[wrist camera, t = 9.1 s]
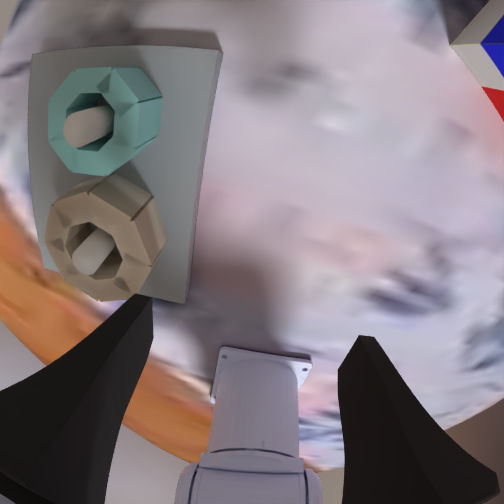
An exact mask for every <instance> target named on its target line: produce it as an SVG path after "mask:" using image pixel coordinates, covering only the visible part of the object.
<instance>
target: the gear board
mask: <svg viewBox="0 0 504 504" xmlns="http://www.w3.org/2000/svg"><path fill="white" fill-rule="evenodd" d="M222 56H223V52H221V51H219V50H211V49H201V48H190V47H175V46H149V45H125V46H99V47H85V48H74V49H64V50H56V51H49V52H42V53H36V54H32V60H31V69H30V81H29V97H28V153H29V170H30V182H31V192H32V201H33V209H34V216H35V223H36V229H37V235H38V241H39V246H40V251H41V256H42V261H43V266H44V268H46V269H50V270H53V271H56V272H59V270H58V269H57V267H56V265H55V263H54V261H53V259H52V257H51V255H50V253H49V251H48V249H47V247H46V245H45V243H44V242H45V241H46V240H44V235H45V230H46V225H47V220H48V216H49V211H50V207H51V204H53V202H54V201H56V200H57V199H58V198H60V197H61V196H63V195H64V194H65V193H67V192H68V191H69V190H71V189H72V188H74V187H75V186H77V185H78V184H79V183H82V182H85V181H88V180H91V179H94V178H97V177H100V176H97V175H89V174H81V173H73V172H72V170H71V171H70V170H69V169H68V168H67V167H66V165H65V164H64V163H63V161H62V160H61V159H60V157H59V156H58V155H57V153H56V152H55V151H54V149H53V148H52V147H51V145H50V144H49V142H50V141H49V140H48V103H49V102H51V101H50V100H49V99H50V98H51V97H52V96H53V94H54V93H55V92H56V90H57V89H58V88H59V87H60V85H61V84H62V83H63V82H64V80H65V79H66V78H67V77H68V76H69V75H70V73H71V72H72V71H73V70H75V69H81V68H100V67H139V68H141V69H142V70H143V72H144V73H145V74H146V75H147V77H148V78H149V79H150V80H151V82H152V83H153V84H154V85H155V87H156V88H157V89H158V90H159V92H160V93H161V94H162V96H161V97H160V98H163V102H162V110H161V119H160V129H159V135H157V136H158V137H157V138H155V139H154V140H153V141H152V142H151V143H150V144H148V145H147V146H146V147H145V148H144V149H143V150H141V151H140V152H139V153H138V154H137V155H136V156H135V157H134V158H132V159H131V160H129V161H128V162H126V163H125V164H124V165H122V166H121V167H119V168H118V169H116V170H115V171H113V174H115V173H117V174H118V175H120V176H122V177H123V178H125V179H127V180H128V181H130V182H132V183H133V184H135V185H137V186H138V187H140V188H142V189H143V190H145V191H147V192H148V193H150V194H152V196H151V198H155V201H156V204H157V207H158V210H159V213H160V215H161V218H162V221H163V224H164V227H165V230H166V232H167V235H168V238H167V239H168V240H167V242H166V244H165V246H164V248H163V249H162V251H161V253H160V255H159V257H158V258H157V260H156V262H155V264H154V266H153V268H152V269H151V271H150V273H149V275H148V277H147V278H146V280H145V282H144V284H143V286H142V288H141V289H140V291H139V293H138V294H142V295H146V296H150V297H155V298H159V299H163V300H167V301H172V302H176V303H181V304H185V301H186V298H187V296H188V293H189V288H190V277H191V266H192V256H193V247H194V237H195V229H196V220H197V212H198V204H199V196H200V188H201V181H202V174H203V167H204V160H205V153H206V147H207V140H208V134H209V128H210V121H211V116H212V110H213V104H214V98H215V93H216V87H217V82H218V77H219V71H220V66H221V61H222ZM114 116H115V111H114V109H113V108H112V107H111V106H110V104H109V103H108V102H107V100H106V99H105V98H104V97H103V96H102V97H101V98H100V99H99V100H98V101H97V106H96V107H93V108H89V109H86V110H82V111H79V112H75V113H72V114H71V115H69V116H68V117H67V119H66V120H65V122H64V126H63V134H64V137H65V139H66V141H67V142H68V143H69V144H70V145H71V146H73V147H82V146H84V145H86V144H88V143H90V142H92V141H95V140H97V139H99V138H101V137H103V136H108V137H113V131H114ZM89 224H90V226H91V228H92V231H93V232H92V233H91V234H90V235H89V236H88V237H87V238H86V239H85V241H84V242H83V243H82V244H81V245H80V246H79V247H78V248H77V249H76V250H75V251H74V252H73V254H72V261H73V264H74V266H75V267H76V268H77V269H78V270H79V271H80V272H81V273H83V274H86V275H92V274H94V273H95V272H96V270H97V269H98V268H99V266H100V265H101V264H102V262H103V261H104V260H105V258H106V257H107V256H108V255H109V253H110V252H111V251H113V252H114V253H120V252H119V250H118V248H117V245H116V243H115V241H114V239H113V236H112V235H110V234H109V233H107V232H105V231H104V230H102V229H101V228H99V227H97V226H96V225H94V224H93V223H91V222H89Z"/></svg>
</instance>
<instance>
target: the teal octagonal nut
mask: <svg viewBox="0 0 504 504" xmlns="http://www.w3.org/2000/svg"><path fill="white" fill-rule="evenodd" d="M102 96H103V97H104V98H105V99H106V100H107V102H108V103H109V104H110V106H111V107H112V108H113V109H114V111H115V116H114V131H113V137H108V136H103V137H101V138H99V139H97V140H95V141H92V142H90V143H88V144H86V145H84V146H82V147H73V146H71V145H70V144H69V143H68V142H67V141H66V139H65V137H64V134H63V126H64V122H65V120H66V119H67V117H68V116H69V115H71V114H72V113H75V112H79V111H82V110H86V109H89V108H93V107H96V106H97V101H98V100H99V99H100V98H101V97H102ZM161 96H162V94H161V93H160V92H159V90H158V89H157V88H156V87H155V85H154V84H153V83H152V82H151V80H150V79H149V78H148V77H147V75H146V74H145V73H144V72H143V70H142V69H141V68H139V67H100V68H81V69H75V70H73V71H72V72H71V73H70V75H69V76H68V77H67V78H66V79H65V80H64V82H63V83H62V84H61V85H60V87H59V88H58V89H57V90H56V92H55V93H54V94H53V96H52V97H51V98H50V99H49V100H50V101H51V102H49V103H48V140H49V141H50V142H49V144H50V145H51V147H52V148H53V149H54V151H55V152H56V153H57V155H58V156H59V157H60V159H61V160H62V161H63V163H64V164H65V165H66V167H67V168H68V169H69V170H70V171H71V170H72V172H73V173H81V174H89V175H97V176H106V175H107V176H108V175H109V174H111V173H112V172H113V171H115V170H116V169H118V168H119V167H121V166H122V165H124V164H125V163H126V162H128V161H129V160H131V159H132V158H134V157H135V156H136V155H137V154H138V153H139V152H140V151H141V150H143V149H144V148H145V147H146V146H147V145H148V144H150V143H151V142H152V141H153V140H154V139H155V138H157V137H158V136H157V135H159V129H160V119H161V110H162V102H163V98H160V97H161Z"/></svg>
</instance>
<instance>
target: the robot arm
mask: <svg viewBox="0 0 504 504" xmlns="http://www.w3.org/2000/svg"><path fill="white" fill-rule="evenodd" d="M152 341H153V311H152V297H149V296H145V295H141V294H136V293H135V294H134V295H132V296H131V297H130V298H129V299H128V300H127V301H126V302H125V303H124V304H123V305H122V306H121V307H120V308H118V309H117V310H116V311H115V312H114V313H113V314H112V315H111V316H110V317H109V318H108V319H107V320H105V321H104V322H103V323H102V324H101V325H100V326H99V327H97V328H96V329H95V330H94V331H93V332H92V333H91V334H89V335H88V336H87V337H86V338H84V339H83V340H82V341H81V342H79V343H78V344H77V345H76V346H74V347H73V348H72V349H71V350H69V351H68V352H67V353H65V354H64V355H62V356H61V357H60V358H58V359H57V360H55V361H54V362H52V363H51V364H49V365H48V366H46V367H45V368H43V369H41V370H40V371H38V372H36V373H35V374H33V375H31V376H29V377H28V378H26V379H24V380H22V381H20V382H18V383H16V384H14V385H12V386H10V387H8V388H6V389H4V390H1V391H0V504H104V503H105V496H106V489H107V482H108V477H109V472H110V467H111V462H112V458H113V453H114V449H115V445H116V441H117V437H118V433H119V430H120V426H121V422H122V420H123V417H124V414H125V411H126V409H127V406H128V404H129V402H130V399H131V397H132V394H133V392H134V390H135V387H136V385H137V383H138V380H139V378H140V376H141V373H142V371H143V368H144V366H145V364H146V361H147V358H148V354H149V351H150V348H151V344H152ZM225 355H226V356H225ZM311 368H312V361H311V360H307V359H299V358H292V357H285V356H278V355H272V354H265V353H259V352H253V351H248V350H242V349H236V348H231V347H222V348H220V352H219V357H218V362H217V368H216V373H215V378H214V384H213V389H212V394H211V400H210V402H211V403H213V404H215V405H214V411H213V417H212V423H211V429H210V435H209V441H208V447H207V453H204V452H202V453H201V457H200V463H198V462H192V463H191V464H190V465H189V466H187V467H186V468H184V470H183V471H182V473H181V475H180V477H179V480H178V484H177V489H176V494H175V502H174V504H322V488H321V482H320V479H319V477H318V475H316V474H315V473H314V471H313V470H312V469H304V459H303V458H299V417H298V391H299V389H300V387H301V386H302V384H303V382H304V380H305V379H306V377H307V375H308V373H309V371H310V370H311ZM338 400H339V408H340V416H341V424H342V432H343V441H344V453H345V466H344V469H345V470H344V487H343V498H342V504H483V503H485V502H487V501H489V500H490V499H492V498H494V497H496V496H497V495H499V493H500V489H499V483H498V479H497V475H496V473H495V472H494V471H492V470H491V469H489V468H488V467H486V466H485V465H483V464H482V463H480V462H479V461H477V460H476V459H475V458H473V457H472V456H471V455H470V454H468V453H467V452H466V451H465V450H463V449H462V448H461V447H460V446H459V445H458V444H457V443H456V442H455V441H454V440H453V439H452V438H451V437H450V436H448V435H447V434H446V433H445V431H444V430H443V429H442V428H441V427H440V426H439V425H438V424H437V423H436V422H435V421H434V419H433V418H432V417H431V416H430V415H429V414H428V412H427V411H426V410H425V409H424V407H423V406H422V405H421V404H420V402H419V401H418V400H417V398H416V397H415V396H414V394H413V393H412V391H411V390H410V389H409V387H408V386H407V384H406V383H405V382H404V380H403V379H402V377H401V376H400V374H399V373H398V371H397V370H396V368H395V367H394V365H393V364H392V362H391V361H390V359H389V358H388V356H387V355H386V353H385V352H384V350H383V349H382V347H381V346H380V344H379V343H378V342H377V340H376V339H375V338H374V337H371V336H363V335H359V336H358V338H357V340H356V341H355V343H354V345H353V346H352V348H351V349H350V351H349V353H348V354H347V356H346V358H345V359H344V361H343V362H342V364H341V365H340V367H339V369H338Z"/></svg>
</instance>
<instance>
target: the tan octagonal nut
mask: <svg viewBox="0 0 504 504" xmlns="http://www.w3.org/2000/svg"><path fill="white" fill-rule="evenodd" d="M151 196H152V194H150V193H148V192H147V191H145V190H143V189H142V188H140V187H138V186H137V185H135V184H133V183H132V182H130V181H128V180H127V179H125V178H123V177H122V176H120V175H118V174H117V173H115V174H113V172H112V173H111V174H109V175H108V176H107V175H106V176H100V177H97V178H94V179H91V180H88V181H85V182H82V183H79V184H78V185H77V186H75V187H74V188H72V189H71V190H69V191H68V192H67V193H65V194H64V195H63V196H61V197H60V198H58V199H57V200H56V201H54V202H53V204H51V207H50V211H49V216H48V220H47V225H46V230H45V235H44V240H46V241H45V242H44V243H45V245H46V247H47V249H48V251H49V253H50V255H51V257H52V259H53V261H54V263H55V265H56V267H57V269H58V270H59V272H60V274H61V276H62V277H65V279H64V280H65V281H67V282H68V283H70V284H72V285H73V286H75V287H76V288H78V289H79V290H81V291H82V292H84V293H86V294H87V295H89V296H90V297H92V298H94V299H95V300H97V301H98V299H99V300H100V302H103V301H115V300H127V299H129V298H130V297H131V296H132V295H134V294H135V293H136V294H138V293H139V291H140V289H141V288H142V286H143V284H144V282H145V280H146V278H147V277H148V275H149V273H150V271H151V269H152V268H153V266H154V264H155V262H156V260H157V258H158V257H159V255H160V253H161V251H162V249H163V248H164V246H165V244H166V242H167V240H168V239H167V238H168V235H167V232H166V230H165V227H164V224H163V221H162V218H161V215H160V213H159V210H158V207H157V204H156V201H155V198H151ZM89 222H91V223H93V224H94V225H96V226H97V227H99V228H101V229H102V230H104V231H105V232H107V233H109V234H110V235H112V236H113V239H114V241H115V243H116V245H117V248H118V250H119V252H120V253H114V252H113V251H111V252H110V253H109V255H108V256H107V257H106V258H105V260H104V261H103V262H102V264H101V265H100V266H99V268H98V269H97V270H96V272H95V273H94V274H92V275H86V274H83V273H81V272H80V271H79V270H78V269H77V268H76V267H75V266H74V264H73V261H72V254H73V252H74V251H75V250H76V249H77V248H78V247H79V246H80V245H81V244H82V243H83V242H84V241H85V239H86V238H87V237H88V236H89V235H90V234H91V233H92V232H93V231H92V228H91V226H90V224H89Z"/></svg>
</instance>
